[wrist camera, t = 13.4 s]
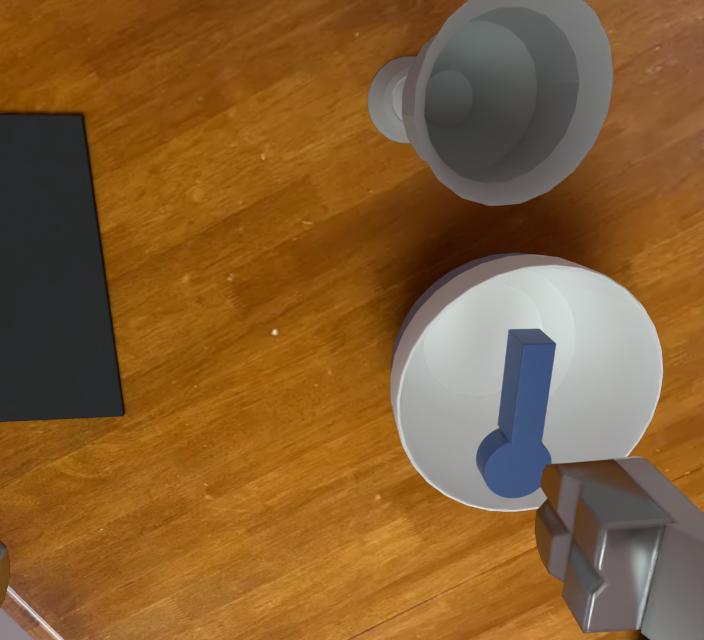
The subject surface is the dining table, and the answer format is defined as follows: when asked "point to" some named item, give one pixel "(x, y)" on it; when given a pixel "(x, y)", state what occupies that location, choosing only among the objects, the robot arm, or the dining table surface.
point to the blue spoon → (520, 417)
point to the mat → (52, 277)
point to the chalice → (501, 97)
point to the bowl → (489, 359)
